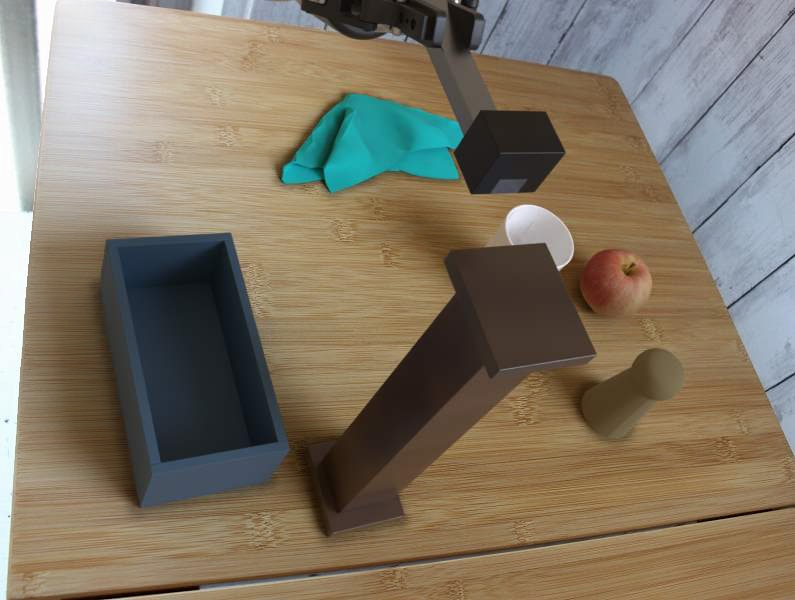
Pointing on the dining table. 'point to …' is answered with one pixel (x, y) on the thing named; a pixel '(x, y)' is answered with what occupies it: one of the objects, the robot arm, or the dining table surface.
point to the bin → (189, 367)
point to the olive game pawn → (632, 392)
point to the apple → (616, 283)
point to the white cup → (535, 232)
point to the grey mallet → (491, 124)
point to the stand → (450, 380)
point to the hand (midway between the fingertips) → (458, 32)
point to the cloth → (374, 144)
